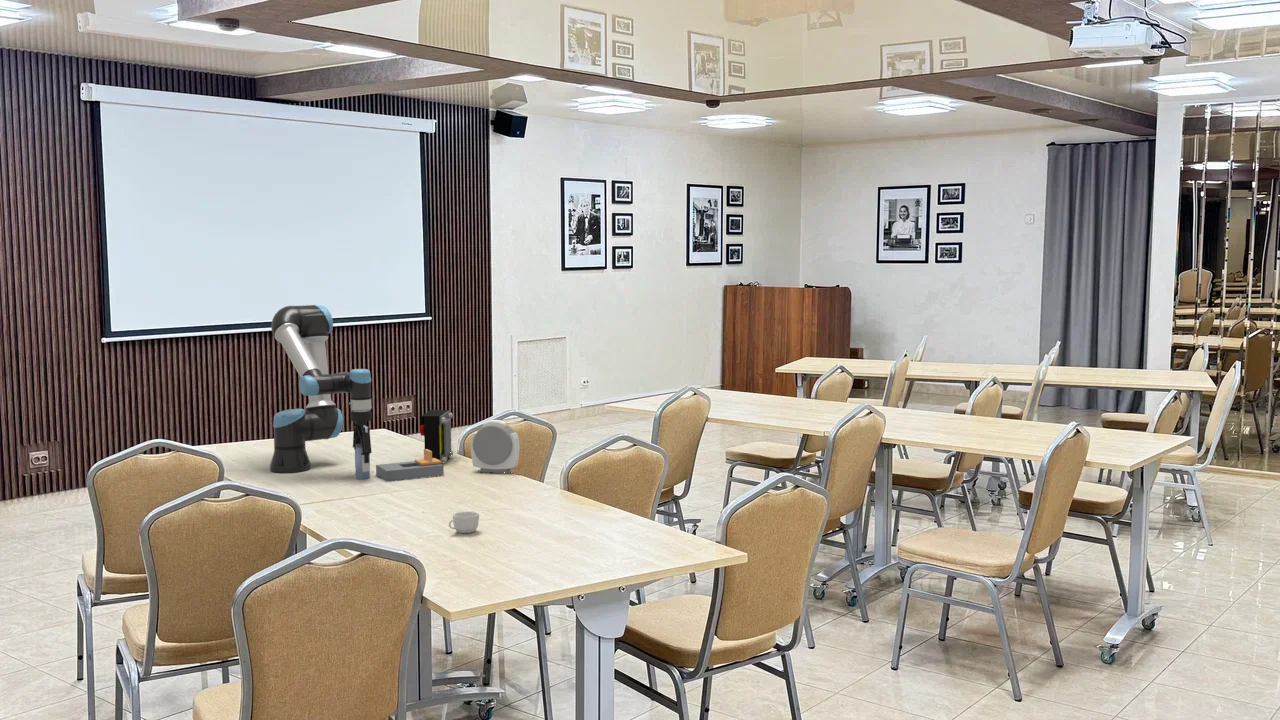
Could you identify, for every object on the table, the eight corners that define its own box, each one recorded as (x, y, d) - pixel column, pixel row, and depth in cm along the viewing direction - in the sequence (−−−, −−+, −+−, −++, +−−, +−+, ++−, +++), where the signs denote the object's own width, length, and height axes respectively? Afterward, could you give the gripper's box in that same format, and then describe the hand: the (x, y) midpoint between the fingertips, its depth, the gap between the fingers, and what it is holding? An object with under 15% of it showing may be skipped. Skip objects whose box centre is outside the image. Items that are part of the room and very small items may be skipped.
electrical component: (445, 465, 421) (444, 416, 419) (420, 465, 421) (419, 416, 419) (454, 457, 438) (453, 410, 437) (429, 457, 439) (429, 410, 437)
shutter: (414, 461, 405) (414, 449, 405) (434, 459, 409) (434, 447, 409) (421, 465, 398) (421, 452, 398) (441, 463, 402) (441, 450, 402)
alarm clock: (520, 470, 410) (520, 419, 408) (514, 474, 402) (514, 422, 400) (477, 469, 413) (476, 418, 411) (469, 473, 405) (469, 421, 403)
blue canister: (354, 477, 396) (354, 443, 395) (367, 476, 399) (367, 442, 398) (357, 479, 392) (357, 445, 391) (371, 478, 394) (371, 444, 393)
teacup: (469, 527, 321) (469, 510, 320) (484, 531, 315) (484, 514, 315) (441, 533, 314) (441, 515, 313) (456, 537, 308) (456, 519, 308)
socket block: (376, 475, 401) (375, 464, 401) (431, 469, 412) (431, 459, 412) (386, 481, 389) (386, 470, 389) (443, 475, 400) (443, 465, 400)
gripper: (343, 407, 401) (344, 465, 403) (359, 414, 382) (360, 475, 384) (363, 406, 404) (364, 463, 406) (379, 413, 385) (380, 473, 387)
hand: (362, 469), depth 395 cm, fingers open, 9 cm apart
